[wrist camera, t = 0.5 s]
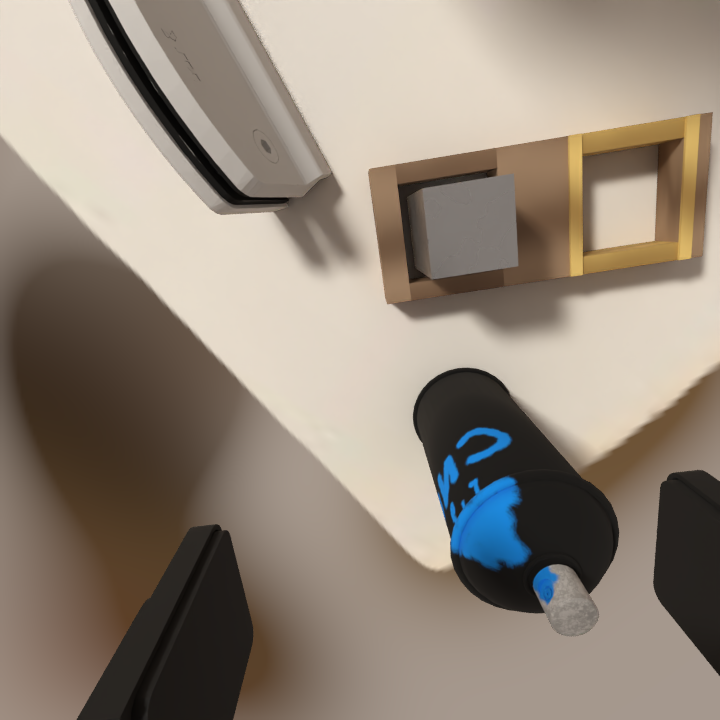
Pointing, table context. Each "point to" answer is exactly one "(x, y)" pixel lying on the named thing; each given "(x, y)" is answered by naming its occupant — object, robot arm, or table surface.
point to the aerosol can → (513, 503)
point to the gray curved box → (206, 98)
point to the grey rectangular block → (464, 227)
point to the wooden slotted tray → (555, 205)
